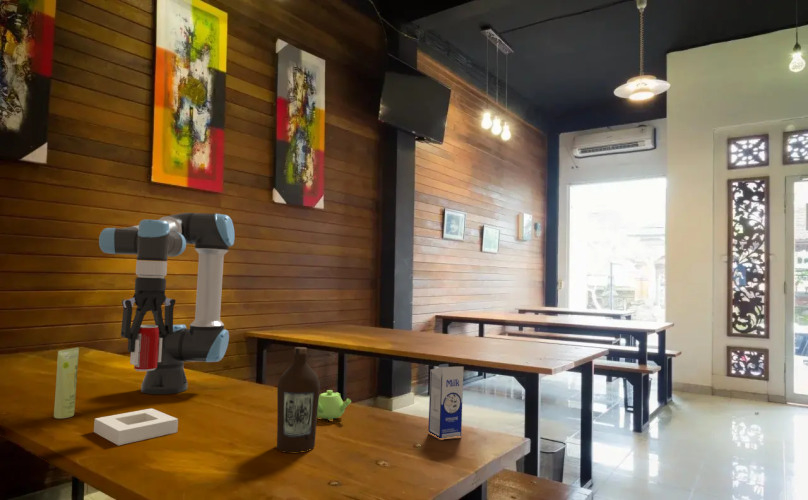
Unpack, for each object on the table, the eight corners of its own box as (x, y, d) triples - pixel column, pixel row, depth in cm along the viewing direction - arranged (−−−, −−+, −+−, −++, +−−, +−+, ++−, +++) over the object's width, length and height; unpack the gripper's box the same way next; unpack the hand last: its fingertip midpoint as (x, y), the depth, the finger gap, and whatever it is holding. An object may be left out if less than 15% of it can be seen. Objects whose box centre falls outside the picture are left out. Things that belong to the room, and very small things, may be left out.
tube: (74, 418, 145) (79, 349, 146) (52, 420, 142) (58, 350, 143) (74, 413, 149) (79, 347, 150) (53, 415, 147) (58, 347, 148)
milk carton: (440, 441, 137) (442, 366, 138) (427, 433, 143) (430, 362, 144) (461, 438, 140) (464, 365, 141) (448, 431, 146) (451, 361, 147)
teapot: (342, 412, 162) (343, 385, 162) (351, 422, 151) (352, 394, 151) (307, 414, 158) (308, 387, 158) (313, 425, 147) (315, 395, 148)
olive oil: (274, 441, 132) (279, 344, 133) (315, 439, 134) (320, 345, 135) (273, 455, 121) (279, 351, 123) (318, 453, 124) (323, 351, 125)
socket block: (151, 420, 145) (151, 408, 145) (177, 432, 136) (178, 419, 136) (93, 431, 133) (94, 418, 134) (118, 445, 124) (119, 431, 124)
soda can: (161, 368, 137) (164, 324, 138) (145, 372, 132) (148, 326, 133) (145, 366, 139) (148, 323, 140) (129, 370, 134) (131, 324, 134)
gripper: (176, 276, 146) (171, 357, 145) (108, 275, 132) (102, 365, 131) (190, 277, 142) (185, 360, 141) (121, 276, 127) (115, 369, 126)
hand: (145, 362), depth 136 cm, fingers closed on soda can, 5 cm apart
